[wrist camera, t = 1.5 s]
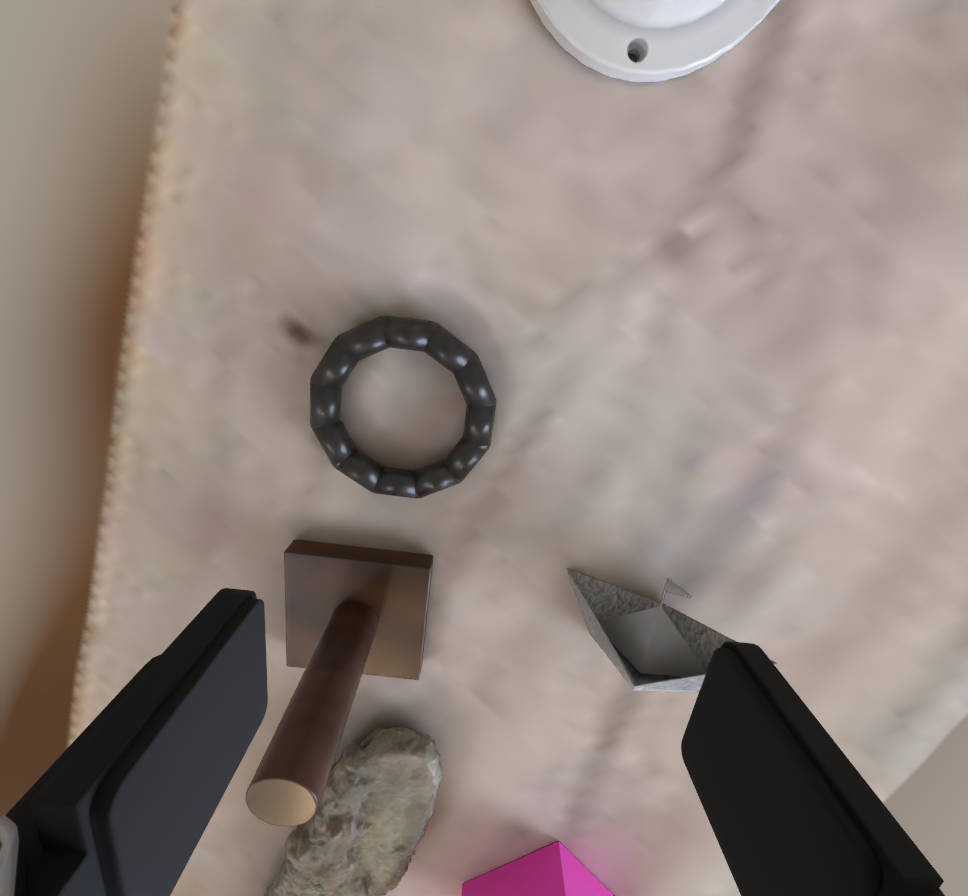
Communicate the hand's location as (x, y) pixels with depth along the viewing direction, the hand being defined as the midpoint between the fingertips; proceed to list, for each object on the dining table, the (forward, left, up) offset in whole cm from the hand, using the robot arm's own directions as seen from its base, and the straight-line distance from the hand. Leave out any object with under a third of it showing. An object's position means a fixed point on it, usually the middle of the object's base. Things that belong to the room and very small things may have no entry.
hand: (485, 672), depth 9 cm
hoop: (0, -5, -17) cm, 18 cm away
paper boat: (+11, +12, -18) cm, 24 cm away
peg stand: (+14, -7, -18) cm, 23 cm away
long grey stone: (+40, -8, -18) cm, 44 cm away
